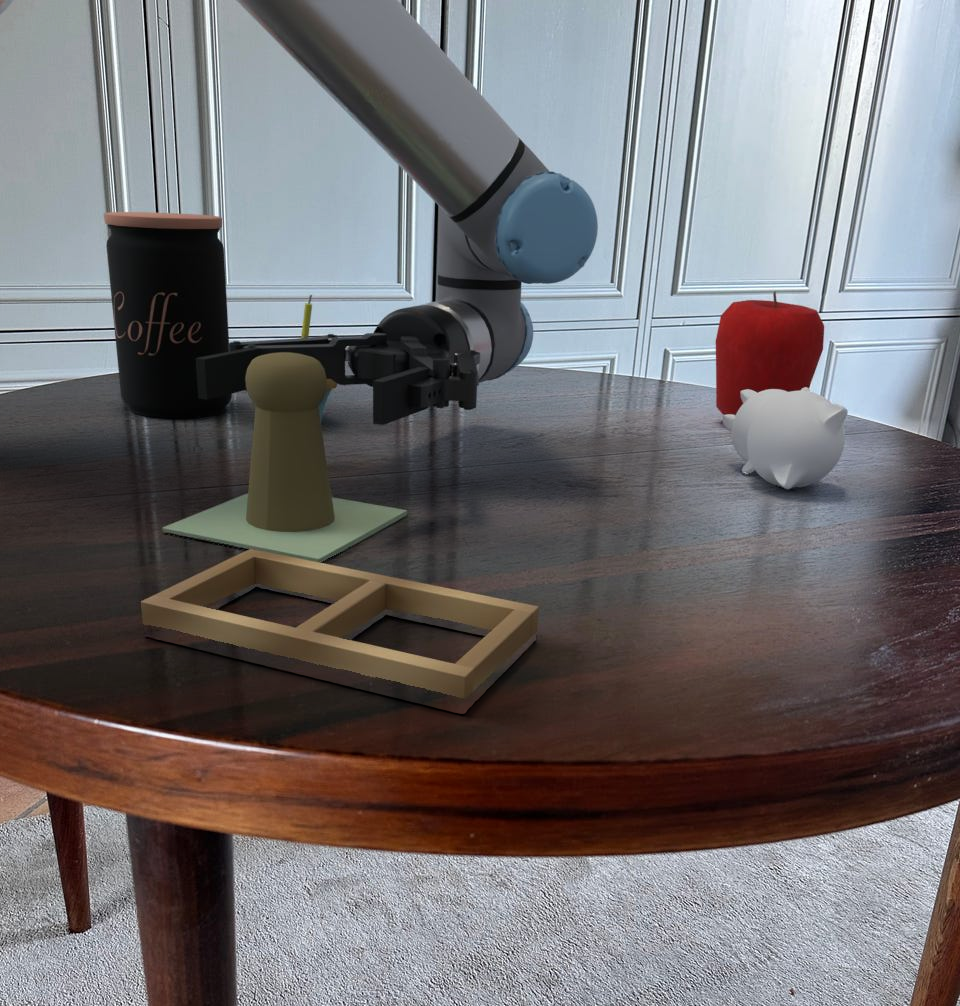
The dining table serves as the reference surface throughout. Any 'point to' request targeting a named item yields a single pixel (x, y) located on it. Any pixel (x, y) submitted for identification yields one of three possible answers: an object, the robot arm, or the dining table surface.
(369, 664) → the stand
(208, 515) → the mat
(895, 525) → the dining table surface
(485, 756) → the dining table surface
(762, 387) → the apple
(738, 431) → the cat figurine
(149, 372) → the coffee jar
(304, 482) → the cork
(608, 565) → the dining table surface
